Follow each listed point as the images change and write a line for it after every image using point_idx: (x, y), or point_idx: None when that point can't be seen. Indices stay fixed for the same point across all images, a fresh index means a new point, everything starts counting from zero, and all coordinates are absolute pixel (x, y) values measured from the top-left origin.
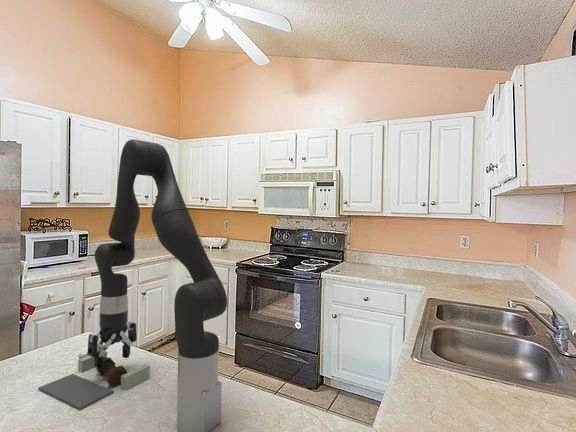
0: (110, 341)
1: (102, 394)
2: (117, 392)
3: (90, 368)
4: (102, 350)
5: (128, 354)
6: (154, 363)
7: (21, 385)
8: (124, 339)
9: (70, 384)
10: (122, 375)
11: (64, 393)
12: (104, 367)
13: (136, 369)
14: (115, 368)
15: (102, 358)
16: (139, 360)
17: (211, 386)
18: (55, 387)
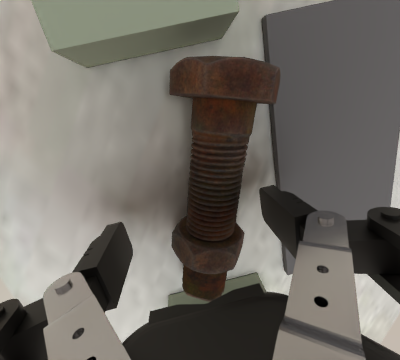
0: (309, 305)
1: (310, 24)
2: (247, 11)
3: (229, 281)
4: (335, 240)
5: (105, 232)
6: (3, 166)
7: (382, 294)
8: (101, 319)
9: (328, 207)
10: (230, 8)
11: (373, 156)
12: (235, 208)
13: (129, 20)
14: (254, 74)
15: (290, 209)
16: (59, 239)
17: None
18: (362, 219)
